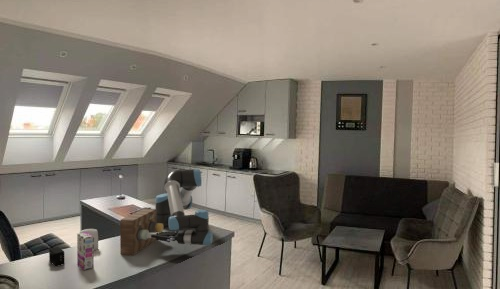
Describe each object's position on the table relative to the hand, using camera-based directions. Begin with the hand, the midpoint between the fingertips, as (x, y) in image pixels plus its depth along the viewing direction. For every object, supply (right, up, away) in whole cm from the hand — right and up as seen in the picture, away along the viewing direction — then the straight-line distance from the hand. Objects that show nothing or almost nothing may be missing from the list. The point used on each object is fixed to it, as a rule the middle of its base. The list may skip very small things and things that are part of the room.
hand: (147, 235), depth 185 cm
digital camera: (-43, -10, -17) cm, 47 cm away
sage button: (-2, -3, 0) cm, 3 cm away
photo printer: (-35, -10, +3) cm, 37 cm away
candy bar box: (-25, -11, -20) cm, 34 cm away
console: (-7, -9, +9) cm, 15 cm away
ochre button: (+3, -2, +14) cm, 14 cm away
